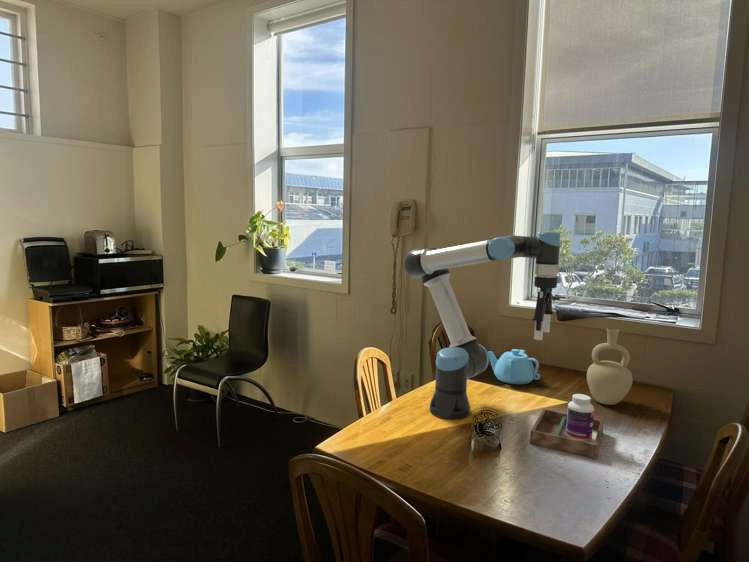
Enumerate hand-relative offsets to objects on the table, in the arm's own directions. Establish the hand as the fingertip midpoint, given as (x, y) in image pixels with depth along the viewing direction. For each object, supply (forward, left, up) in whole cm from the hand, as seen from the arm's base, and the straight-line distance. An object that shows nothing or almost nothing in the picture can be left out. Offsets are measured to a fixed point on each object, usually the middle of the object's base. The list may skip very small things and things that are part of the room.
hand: (541, 335), depth 179 cm
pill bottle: (+15, -9, -31) cm, 36 cm away
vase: (+21, +35, -32) cm, 52 cm away
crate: (+12, -9, -32) cm, 35 cm away
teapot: (-19, +44, -32) cm, 58 cm away
